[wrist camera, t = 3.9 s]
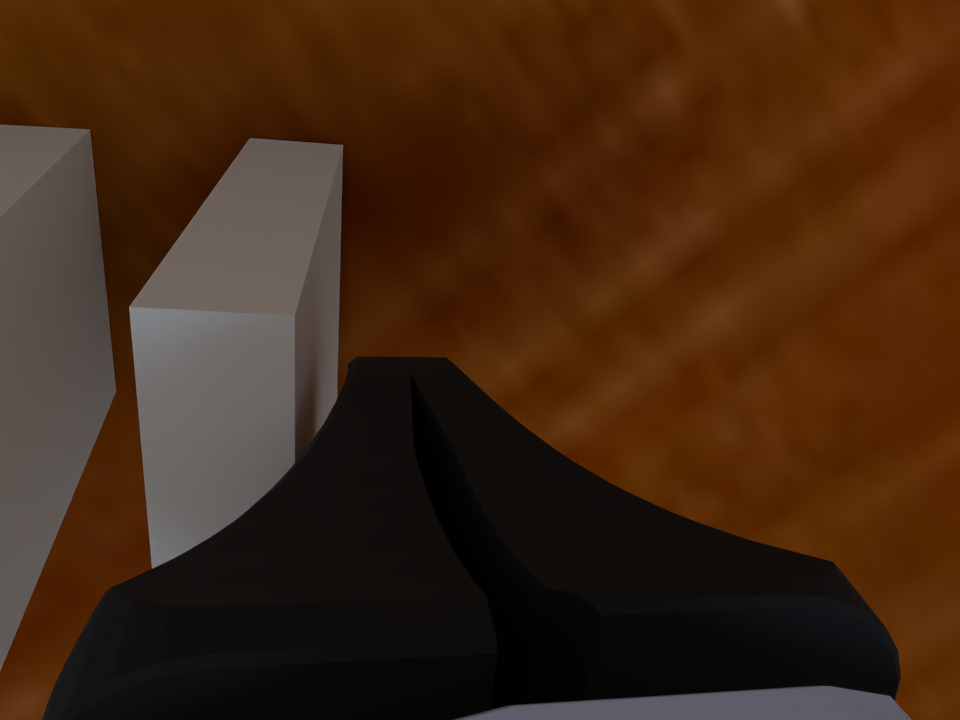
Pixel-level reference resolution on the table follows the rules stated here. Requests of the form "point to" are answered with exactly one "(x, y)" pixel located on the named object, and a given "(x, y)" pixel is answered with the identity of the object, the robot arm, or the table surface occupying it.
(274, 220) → the domino
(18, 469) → the domino
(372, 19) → the table surface
